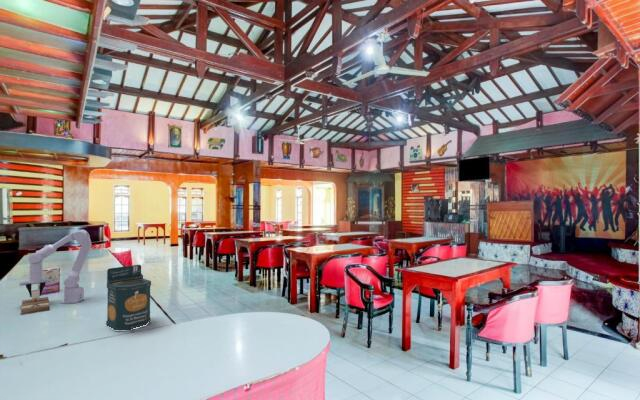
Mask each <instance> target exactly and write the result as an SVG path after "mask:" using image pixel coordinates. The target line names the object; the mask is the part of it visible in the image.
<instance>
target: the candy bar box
mask: <svg viewBox="0 0 640 400" xmlns="http://www.w3.org/2000/svg"><path fill="white" fill-rule="evenodd" d="M60 270H61V269H60V267H51V268H49V267H48V268H42V279H52V282H51V283H45V286H44V288H43V290H42V293H41V296H43V295H48V294H49V295H50V294H54V293H55V294H56V293H60V291H61V287H60V286H61V285H60V284H61V283H60V282H61V281H60V279H61V276H60V275H61V271H60ZM39 283H40V282H39ZM39 289H40V284H37V290H39Z"/></svg>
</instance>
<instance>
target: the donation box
mask: <svg viewBox="0 0 640 400" xmlns="http://www.w3.org/2000/svg"><path fill="white" fill-rule="evenodd" d="M106 273H107V274H106V277H107V278H106V289H107V308H106V309H107V310H106V311H107V316H106V317H107V319H106V321H105V325H107V326H106V327H108V326H109V327H111V328H113V329H114V330H131V329H133V328H136V327H140V326H143V325H146V324H147V323H148V322H150V321H152V319H151V286H152V281H151V280H149V279H145V278H144V275H143V273H142V265H141V264H134V265H133V264H132V265H127V266H119V267H112V268H111V267H110V268H108V269H107V270H106ZM150 323H151V322H150ZM109 327H108V328H109ZM111 328H110V329H111ZM114 330H113V331H114ZM131 331H132V330H131Z"/></svg>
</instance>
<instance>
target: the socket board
mask: <svg viewBox="0 0 640 400" xmlns="http://www.w3.org/2000/svg"><path fill="white" fill-rule="evenodd" d="M21 301H22V302H21V308H20V315H21V316H22V315H27V314H34V313H35V314H36V313H41V312H45V311H47V312H48V311H50V308H51V307H50V305H51V304H50V299H49V296H45V297H40V298H39V301H37V300H35V301H34V302H32V298H30V299H23V300H21Z"/></svg>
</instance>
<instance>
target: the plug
mask: <svg viewBox="0 0 640 400" xmlns="http://www.w3.org/2000/svg"><path fill="white" fill-rule="evenodd" d="M31 292H32V297H31V299H32V302H34V301H35V300H37V301H39V298H41V296H40V289H39V290H38V289H34V290H33V289H31Z"/></svg>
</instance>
